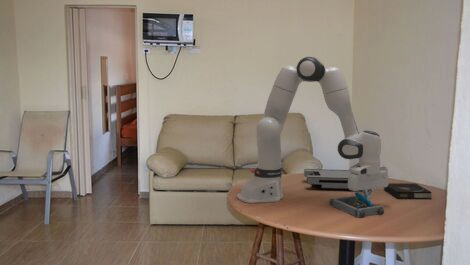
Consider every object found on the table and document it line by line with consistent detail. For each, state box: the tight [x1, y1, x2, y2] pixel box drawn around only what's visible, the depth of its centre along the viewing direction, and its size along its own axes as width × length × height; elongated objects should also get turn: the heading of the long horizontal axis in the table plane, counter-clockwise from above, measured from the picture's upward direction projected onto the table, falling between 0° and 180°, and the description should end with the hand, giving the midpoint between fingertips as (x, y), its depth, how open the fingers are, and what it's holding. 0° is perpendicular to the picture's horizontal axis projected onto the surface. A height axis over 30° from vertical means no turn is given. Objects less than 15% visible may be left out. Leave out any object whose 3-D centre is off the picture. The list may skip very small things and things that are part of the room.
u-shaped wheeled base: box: [329, 195, 385, 219], centre depth 187 cm, size 14×20×3 cm, turn 24°
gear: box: [352, 191, 375, 209], centre depth 188 cm, size 11×6×10 cm
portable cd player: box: [383, 182, 433, 200], centre depth 212 cm, size 16×17×4 cm
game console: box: [303, 168, 363, 193], centre depth 227 cm, size 21×32×8 cm, turn 86°
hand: (367, 198), depth 189 cm, fingers closed
